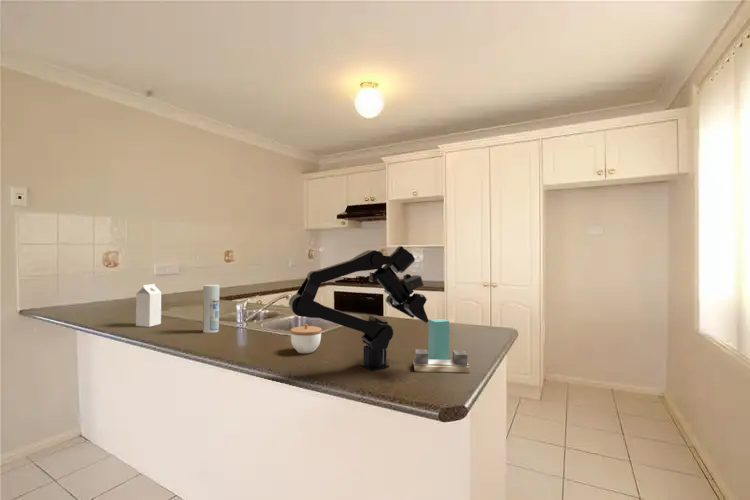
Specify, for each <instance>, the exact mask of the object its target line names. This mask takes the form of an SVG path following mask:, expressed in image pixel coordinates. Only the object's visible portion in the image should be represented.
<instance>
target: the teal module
mask: <svg viewBox="0 0 750 500" xmlns="http://www.w3.org/2000/svg"><path fill="white" fill-rule="evenodd" d="M427 347H428V348H427V349H428V350H427V352H428V359H438V360H450V359H449V357H450V356H449V355H450V353H449V352H450V321H449V320H447V319H443V318H435V319H434V318H431V319H429V318H428V346H427Z"/></svg>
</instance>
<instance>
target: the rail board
mask: <svg viewBox="0 0 750 500" xmlns="http://www.w3.org/2000/svg"><path fill="white" fill-rule="evenodd" d="M414 351H415V352H414V356H415V357H414V358H413V359H412V360H413V362H412V364H413V368H414V369H413V370H414V372H426V373H427V372H429V373H431V372H434V373H465V374H466V373H471V372H470V371H471V369H470V364H469V363H468V354H467V352H466V351H465V350H460V349H459V350H458V349H455V350H454V349H453V350H452V359H449V360H438V359H428V350H427V348H426V349H421V348H420V349H418V348H416V349H415V350H414Z"/></svg>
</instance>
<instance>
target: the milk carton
mask: <svg viewBox="0 0 750 500" xmlns="http://www.w3.org/2000/svg"><path fill="white" fill-rule="evenodd" d="M135 295H136V299H135V300H136V301H135V302H136V304H135V305H136V306H135V311H136V312H135V327H148V328H149V327H154V326H158V325H161V324H162V291H161V290H160V289H159V288H158V287H157V286H156V283H149V284H142V288H140V290H139V291H138V292H136V294H135Z"/></svg>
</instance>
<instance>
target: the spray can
mask: <svg viewBox="0 0 750 500" xmlns="http://www.w3.org/2000/svg"><path fill="white" fill-rule="evenodd" d="M202 288H203V289H202V298H203V299H202V305H203V306H202V332H203V333H204V334H213V333H218V332H219V331H220V288H221V287H220V284H203V285H202Z"/></svg>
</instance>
